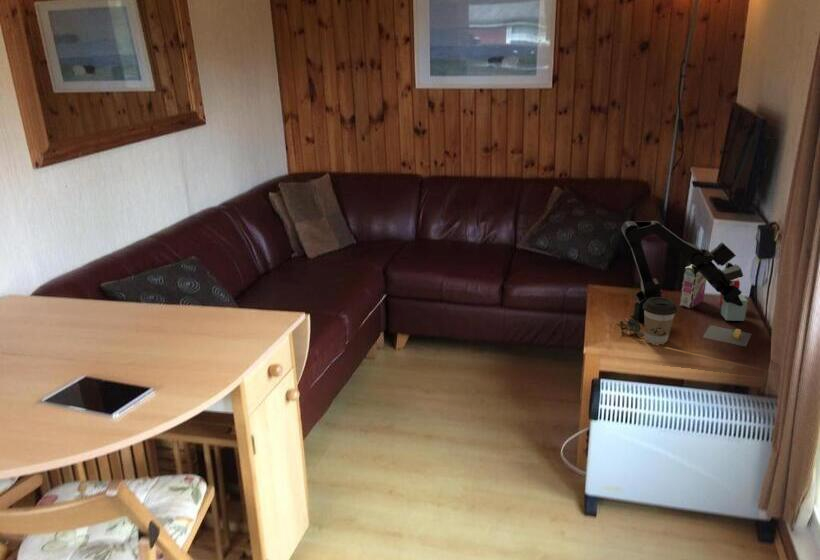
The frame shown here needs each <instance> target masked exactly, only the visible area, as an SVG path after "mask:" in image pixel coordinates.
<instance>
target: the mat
mask: <svg viewBox="0 0 820 560" xmlns="http://www.w3.org/2000/svg"><path fill="white" fill-rule="evenodd" d="M751 336H752V333H750V332H745V331H742V330H741V329H739V328H735V329H731V328H725V327H720V326H717V325H716V326H715V325H711V324H709V326H708V327H707V329H706V331H705V333H704V334H703V336H702V338H705V339H709V340H714V341H717V342H718V341H719V342H722V343H727V344H733V345H736V346H737V345H738V346H740V347H741V346H742V347H747V345H748V343H749V341H750V339H751Z"/></svg>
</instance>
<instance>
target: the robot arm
mask: <svg viewBox="0 0 820 560" xmlns="http://www.w3.org/2000/svg"><path fill="white" fill-rule="evenodd" d="M621 232H622V234H623V236H624V238H625V240H626V241H627V243H628V245H629V246H630V250H631V252H632V256H633V259H634V261H635V265H636V268H637V271H638V274H639V277H640V289H641V290H639V291H638V292H636V293H635V294H634V297H635V301H637V302H636V303H635V304H634V308H633V309H634V311H633V314H632V315H631V316H630V317H631V319H633V320H636V321H637V322H638V323H639V324H645V321H644V309H643V304H644V303H645V302H646V300H647V299H648V298H651V297H662V294H663V291H662V289H661V285H660V282H659V281H658V279H657V278H655V277H654V278H653V277H652V276H653V275H652V274H651V271H650V267H649V265H648V261H647V258H646V255H645V251H644V248H643V238H646V237H648V236H650V235H656V236H658V237H659V238H661V239H662V240H663V241H665V242H666V243H668V244H669V245H671V247H673V248H674V249H676V250H677V251H679V253H680V254H682V256H683V257H684V258H685V260H686V261H688V262H689V263H690V265H691V264H692V269H691V271H692V273H693V274H696V273H697V272H700V274H701V275H702V276H703V277H704V278H705V279H706V282H708V284H709V285H710V286H711V287H712V288H714V290H715V291H716V292H717V293H719V294H721V297H722V298H723V299H724V301H725V302H726V303H729V302H730V303H733V304H735V305H738V306H742V305H743V303H742V302H741V300H740V298H739V296H738V295H740V294H742V291H741V290H740V288H739V289H738V288H737V287H736V286H735V285H731V286H730V283H732V281H731V280H733V279H736V278H738V279H739V278H743V276H744V274H743V270H742V268H741V266H739V265H738V264H733V263H732V262H730V261H731V260H732V259H733V258H735V257H736V256H737V255H736V254H735V252H733V251H732V249H730V248H729V247H728V246H727V245H726V244H725V243H724V242H720V243H719V244H718V245H717V246H716V247H714V248H713V249H712V250H711V251H710V250H709V249H705V248H704V249H703V248H700V247H699V246H696V245H695V244H692V243H691V242H687V241H685V240H683V239H681V238H680V236H677V235H676V234H675V233H673V232H672V231H671V230H669V229H668V228H667V227H665V226H664V225H663V224H661V223H660V222H659V221H658V220H647V221H646V220H644V221H642V220H640V221H639V220H638V221H632V220H627V221H625V222H623V224H622V225H621ZM715 264H716V265H715ZM718 266H721V267H723V266H725V267H724V268H723V269H721V268H719V267H718Z"/></svg>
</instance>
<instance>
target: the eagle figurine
mask: <svg viewBox="0 0 820 560" xmlns="http://www.w3.org/2000/svg"><path fill="white" fill-rule="evenodd" d="M625 320H626V323H624V321H623V320H621V321H619V322H616V325H617V326H618V327H620V331H621V330H622V331H621V332H623V331H624V330H626V332H627V336H628V335H629V336H630V335H631V332H634V333H635V334H636V335H637V336H638V338H639V339H642V338H641V337H643V336H644V335H645V333H644V332H643V331H642V329H641V325H640V324H641V323H639V322H638V321H637V320H635V319H633V318H630V319H629V320H628V319H627V318H625Z"/></svg>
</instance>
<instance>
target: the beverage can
mask: <svg viewBox="0 0 820 560" xmlns="http://www.w3.org/2000/svg"><path fill="white" fill-rule="evenodd" d="M731 281H732V283H730V286H731V285H735V286H736V287H737V288H738V289H739V290H740V286H741V282H740V279H739V278H736V279H733V280H731ZM719 294H720V295H719V302H718V305H719V306H720V307H722V301H723V298H722V297H721V293H719Z"/></svg>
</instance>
